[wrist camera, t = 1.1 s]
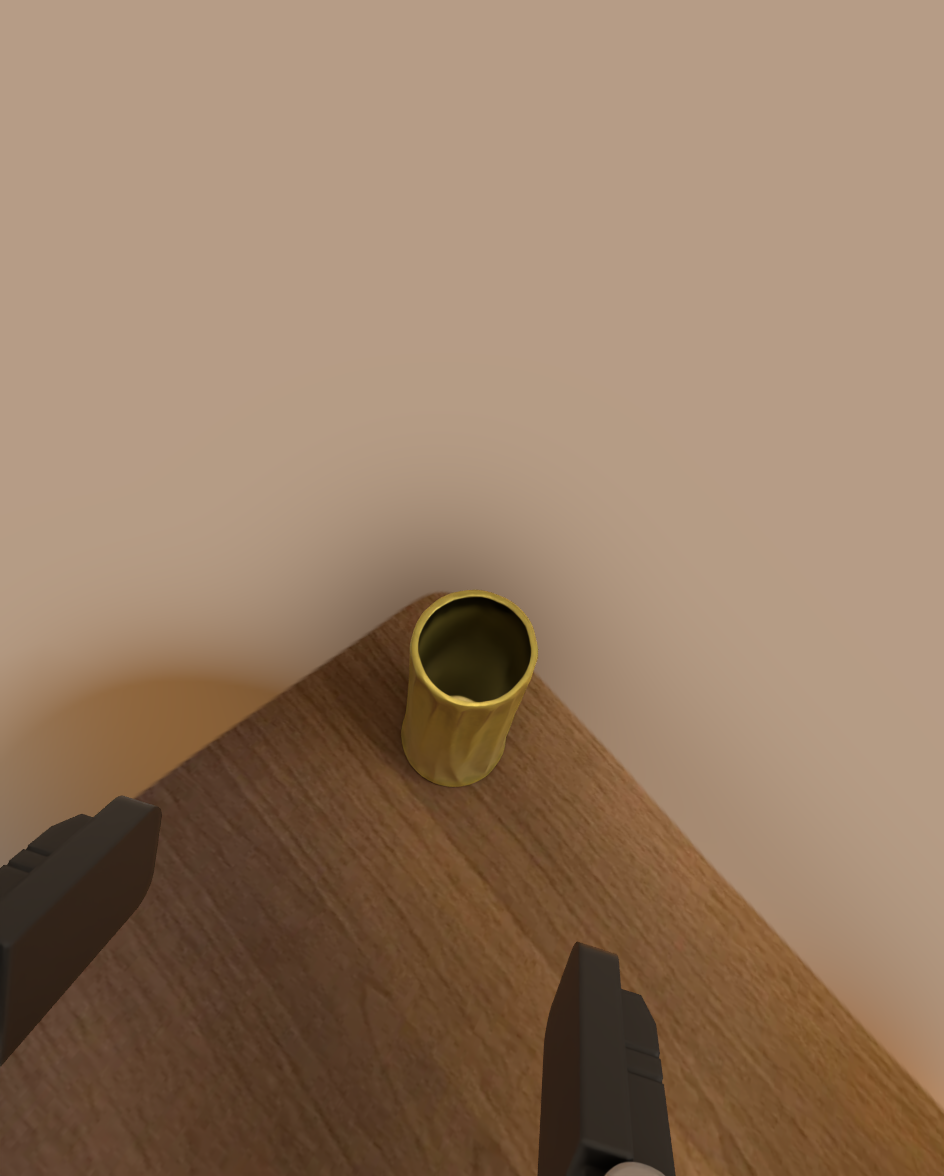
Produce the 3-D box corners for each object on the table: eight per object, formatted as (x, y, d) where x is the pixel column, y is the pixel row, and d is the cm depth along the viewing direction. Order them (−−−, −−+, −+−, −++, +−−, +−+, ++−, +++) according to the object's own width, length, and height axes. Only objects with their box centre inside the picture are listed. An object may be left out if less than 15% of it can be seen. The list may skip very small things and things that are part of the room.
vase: (520, 709, 42) (569, 613, 30) (481, 805, 40) (516, 745, 27) (428, 669, 43) (437, 557, 30) (383, 760, 40) (372, 681, 28)
